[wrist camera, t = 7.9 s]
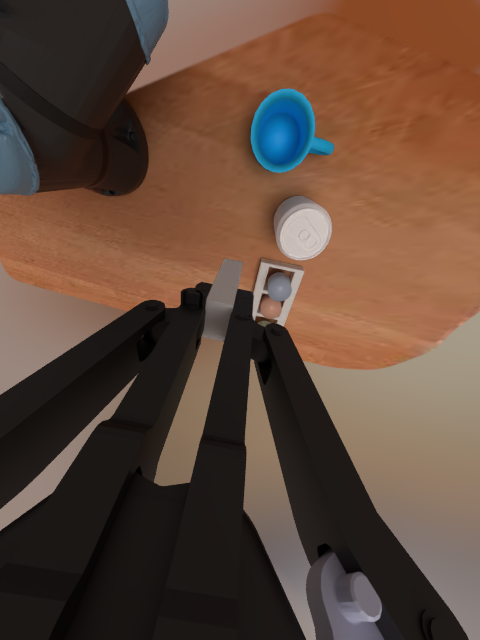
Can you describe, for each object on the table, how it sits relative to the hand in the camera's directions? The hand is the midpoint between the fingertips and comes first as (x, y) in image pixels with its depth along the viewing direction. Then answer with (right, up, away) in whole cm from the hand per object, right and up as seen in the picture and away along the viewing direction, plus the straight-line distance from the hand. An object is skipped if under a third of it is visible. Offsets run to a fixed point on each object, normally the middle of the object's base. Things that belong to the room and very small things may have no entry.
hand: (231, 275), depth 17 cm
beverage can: (+11, +15, +23) cm, 30 cm away
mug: (+9, +25, +17) cm, 31 cm away
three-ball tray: (+8, +1, +33) cm, 34 cm away
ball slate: (+9, +4, +27) cm, 29 cm away
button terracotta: (+8, +1, +33) cm, 34 cm away
